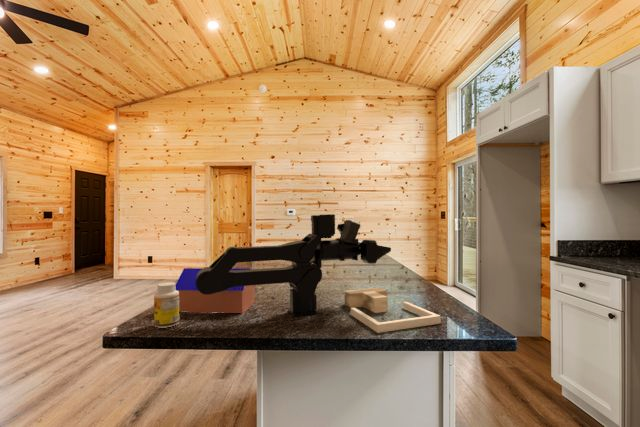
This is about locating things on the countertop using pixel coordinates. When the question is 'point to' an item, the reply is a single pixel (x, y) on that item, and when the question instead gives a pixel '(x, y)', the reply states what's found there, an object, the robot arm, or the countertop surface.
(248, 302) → the house
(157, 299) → the supplement bottle
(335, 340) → the countertop surface
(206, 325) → the countertop surface
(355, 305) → the tee block
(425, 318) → the corral
